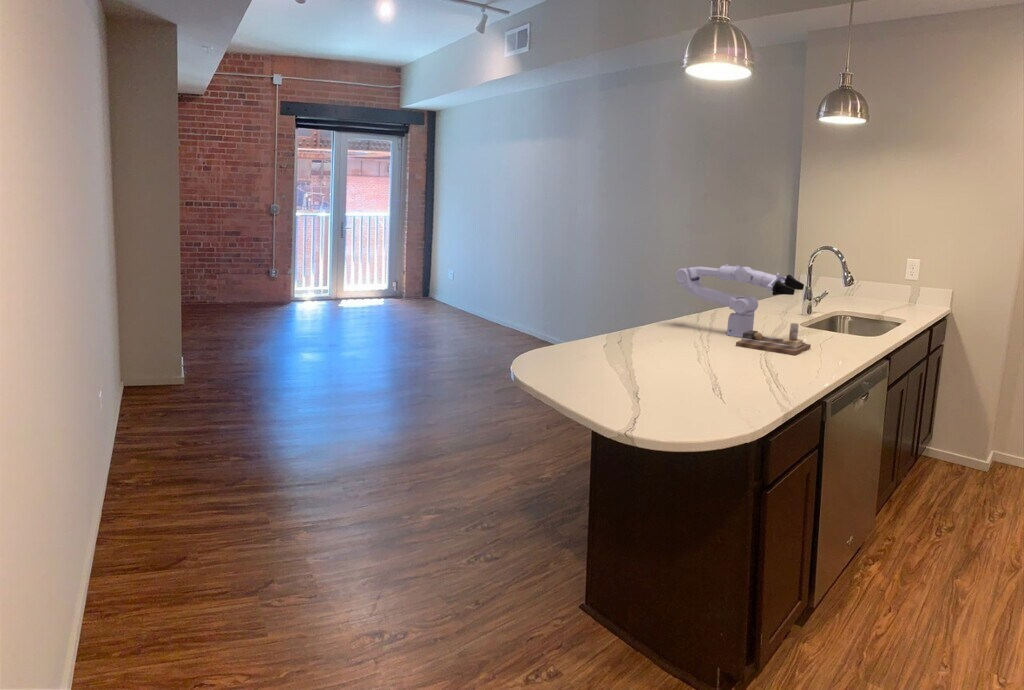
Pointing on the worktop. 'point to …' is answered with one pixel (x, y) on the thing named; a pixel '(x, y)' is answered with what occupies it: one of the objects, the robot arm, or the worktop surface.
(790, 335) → the press ram
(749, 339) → the board
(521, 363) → the worktop surface
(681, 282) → the robot arm
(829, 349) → the worktop surface
